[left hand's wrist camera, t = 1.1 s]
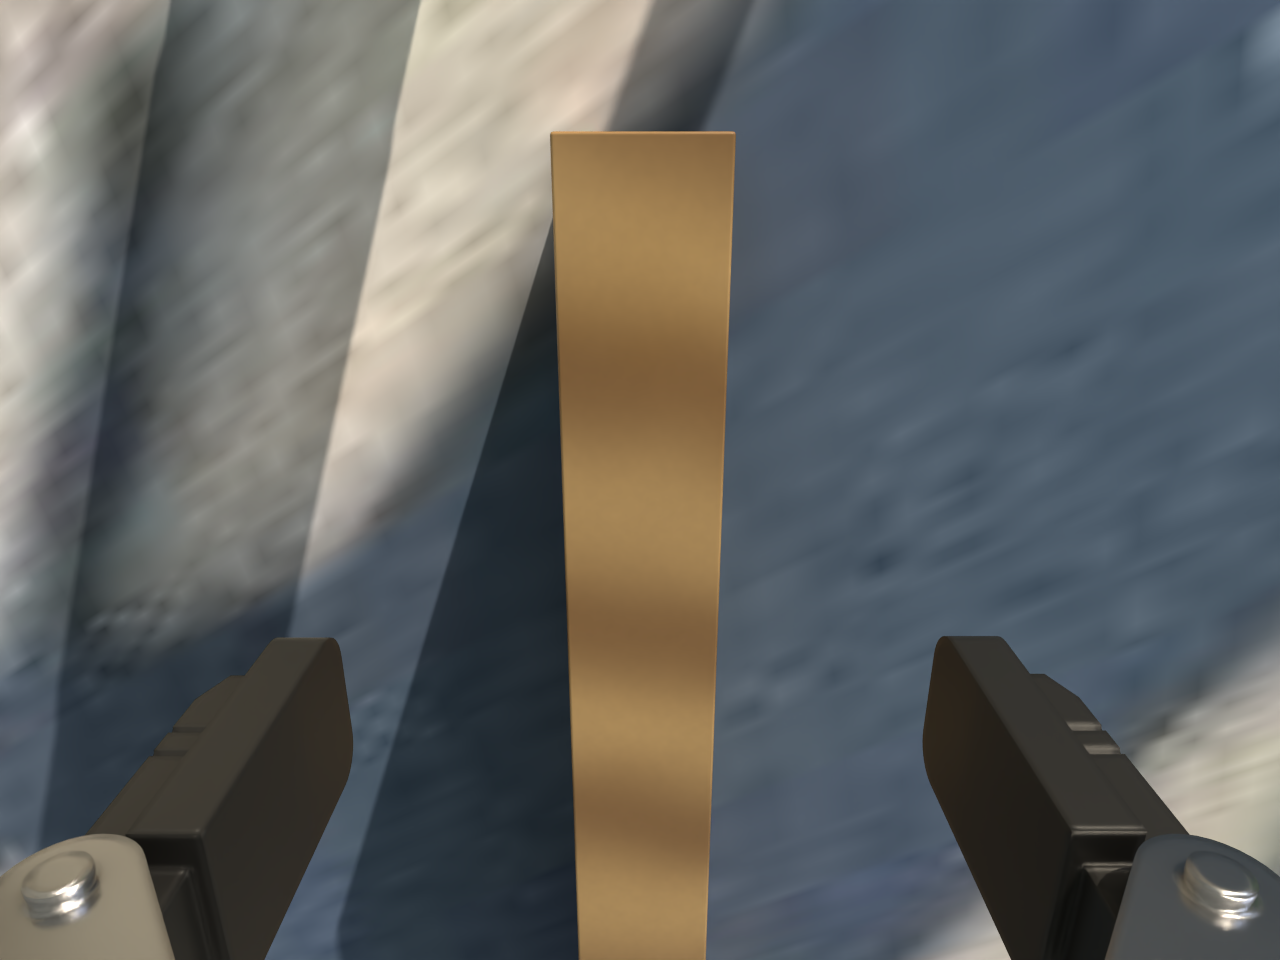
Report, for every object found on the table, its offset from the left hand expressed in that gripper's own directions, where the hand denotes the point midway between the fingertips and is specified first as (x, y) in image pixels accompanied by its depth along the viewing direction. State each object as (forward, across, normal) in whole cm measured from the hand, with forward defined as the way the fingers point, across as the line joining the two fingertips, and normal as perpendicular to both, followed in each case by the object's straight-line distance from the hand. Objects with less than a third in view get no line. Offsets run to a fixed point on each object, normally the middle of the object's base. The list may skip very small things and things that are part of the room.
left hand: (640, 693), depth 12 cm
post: (+20, 0, -34) cm, 40 cm away
